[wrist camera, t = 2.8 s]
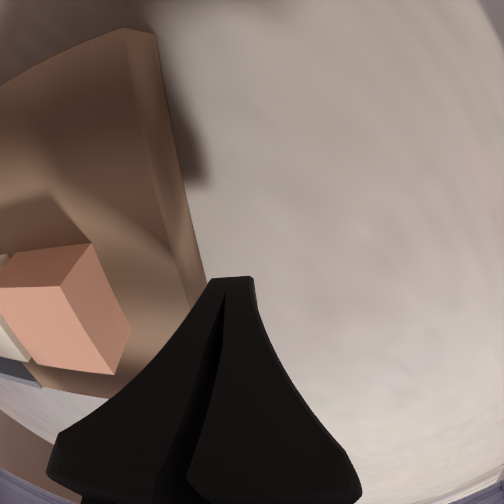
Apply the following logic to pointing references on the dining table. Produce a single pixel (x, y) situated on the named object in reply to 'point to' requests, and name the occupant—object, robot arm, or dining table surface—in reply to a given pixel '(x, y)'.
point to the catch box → (17, 372)
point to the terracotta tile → (64, 308)
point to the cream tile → (10, 334)
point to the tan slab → (102, 189)
